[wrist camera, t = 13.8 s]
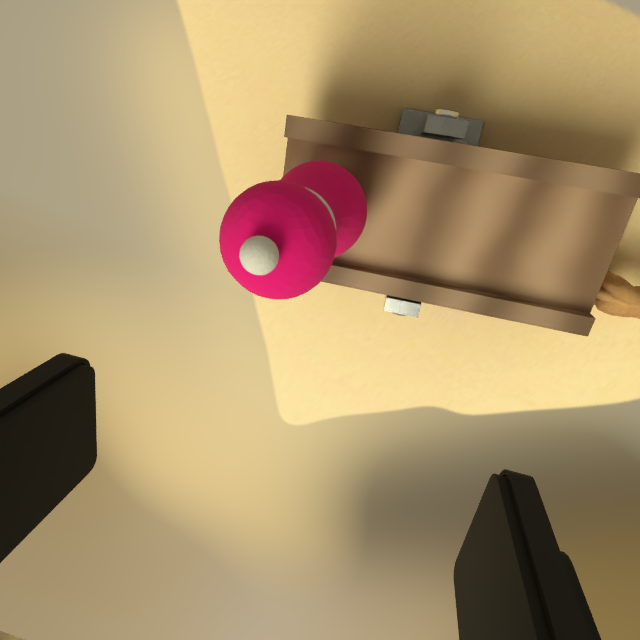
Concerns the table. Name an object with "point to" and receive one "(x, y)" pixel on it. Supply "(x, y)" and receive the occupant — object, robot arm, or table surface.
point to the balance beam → (474, 223)
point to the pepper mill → (292, 229)
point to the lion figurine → (618, 297)
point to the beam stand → (439, 128)
